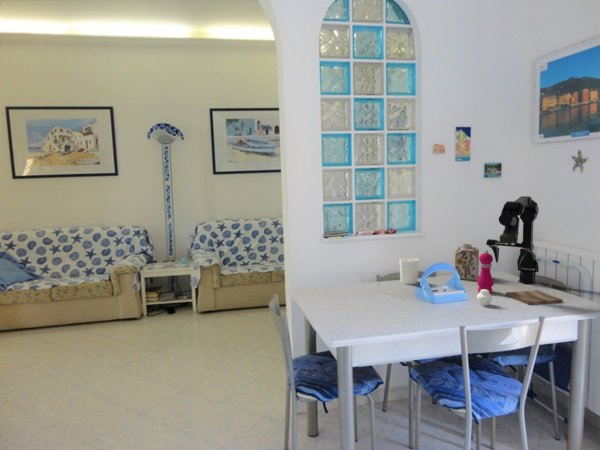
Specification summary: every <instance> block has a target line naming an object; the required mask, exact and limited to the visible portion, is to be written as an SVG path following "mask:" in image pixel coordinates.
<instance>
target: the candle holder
mask: <svg viewBox="0 0 600 450" xmlns="http://www.w3.org/2000/svg"><path fill="white" fill-rule="evenodd" d="M398 262H399V278H400V279H399V280H400V283H401V284H405V285H415V284H417V283H418V277H419V275H418V274H419V262H420V259H418V258H413V257H402V258H399V261H398Z"/></svg>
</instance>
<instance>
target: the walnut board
mask: <svg viewBox="0 0 600 450" xmlns="http://www.w3.org/2000/svg"><path fill="white" fill-rule="evenodd" d="M505 296H508V297H509V298H512V299H514V300H517V301H519V302H522V303H524V304H526V305H532V306H533V305H544V304H557V303H563V299H562V298H559V297H557V296H554V295H551V294H549V293H545V292H544V291H541V290H538V289H537V290H536V289H535V290H523V291H521V290H520V291H509V292H508V291H507V292H505Z"/></svg>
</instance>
